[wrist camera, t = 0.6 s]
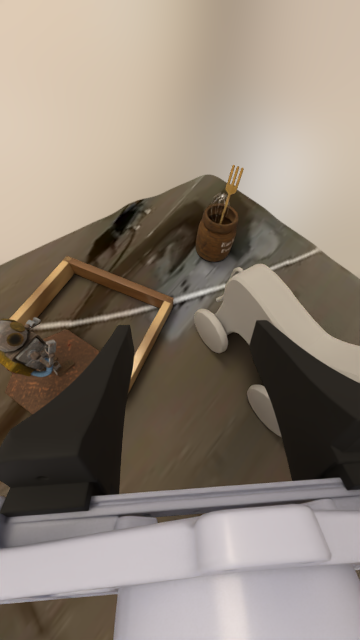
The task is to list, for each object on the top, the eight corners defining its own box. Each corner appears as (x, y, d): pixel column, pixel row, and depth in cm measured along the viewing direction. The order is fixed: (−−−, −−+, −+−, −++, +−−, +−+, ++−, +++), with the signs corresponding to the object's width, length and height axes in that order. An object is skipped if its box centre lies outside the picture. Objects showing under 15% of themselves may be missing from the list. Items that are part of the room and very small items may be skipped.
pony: (339, 420, 27) (561, 401, 12) (279, 477, 24) (478, 547, 9) (236, 299, 34) (294, 193, 19) (179, 330, 31) (195, 233, 16)
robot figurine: (119, 365, 28) (93, 323, 17) (65, 437, 24) (-13, 438, 13) (54, 322, 30) (-5, 260, 19) (-6, 381, 26) (-122, 344, 15)
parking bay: (123, 403, 26) (119, 401, 24) (3, 347, 28) (-10, 339, 26) (172, 307, 32) (173, 298, 30) (72, 267, 35) (66, 255, 32)
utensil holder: (189, 255, 37) (200, 184, 27) (202, 232, 40) (217, 159, 30) (222, 268, 37) (246, 200, 26) (233, 243, 39) (260, 172, 29)
